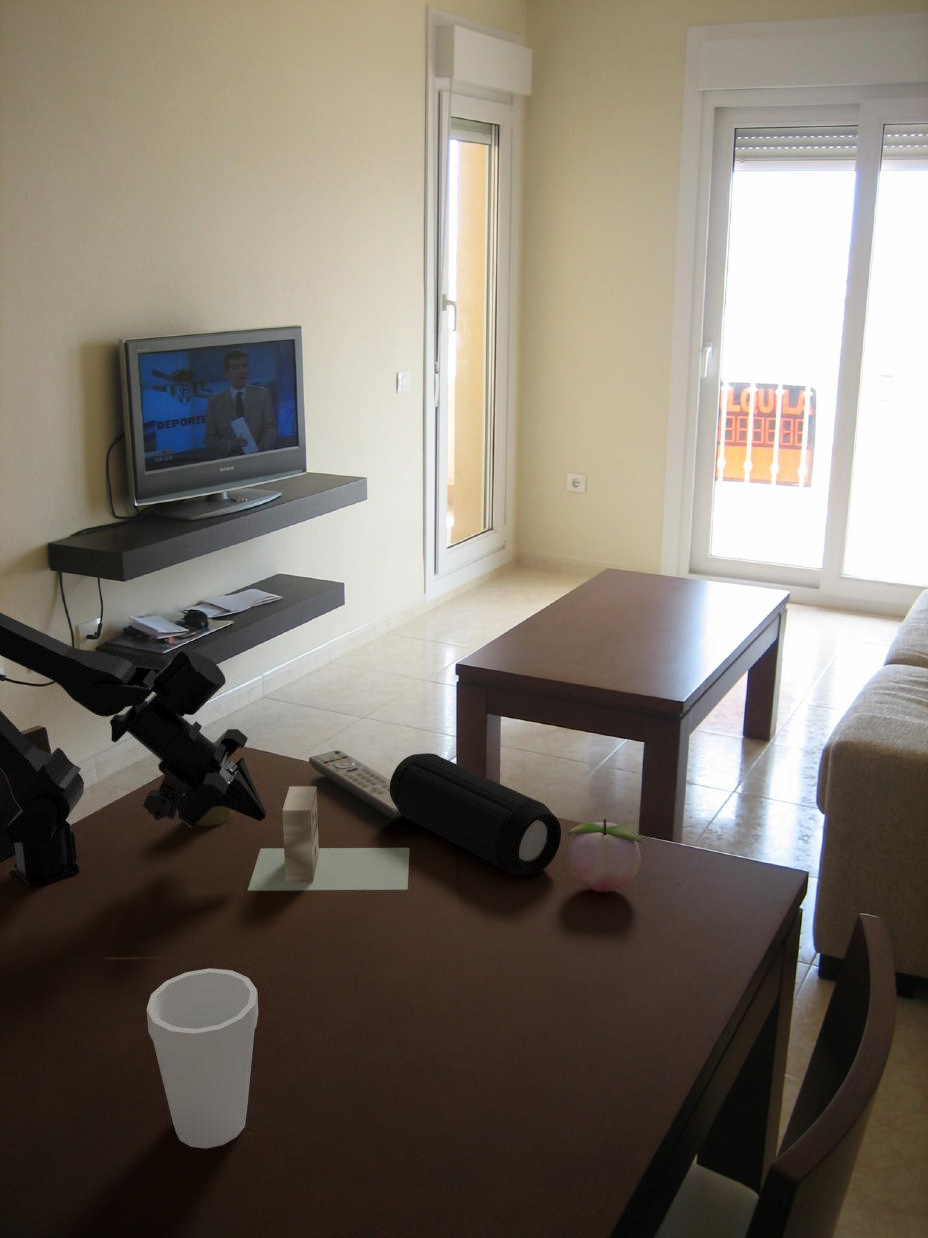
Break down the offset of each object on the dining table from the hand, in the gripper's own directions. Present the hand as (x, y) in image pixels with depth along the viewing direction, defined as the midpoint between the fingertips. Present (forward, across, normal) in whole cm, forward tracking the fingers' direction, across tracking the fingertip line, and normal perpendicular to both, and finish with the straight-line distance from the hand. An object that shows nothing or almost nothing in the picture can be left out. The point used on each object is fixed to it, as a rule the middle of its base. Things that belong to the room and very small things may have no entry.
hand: (263, 817), depth 147 cm
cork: (-2, -16, -12) cm, 20 cm away
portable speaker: (+25, -7, +13) cm, 29 cm away
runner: (+11, 0, +1) cm, 11 cm away
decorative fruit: (+36, +6, +25) cm, 44 cm away
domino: (+8, 0, -2) cm, 9 cm away
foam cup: (+7, +47, -4) cm, 47 cm away
